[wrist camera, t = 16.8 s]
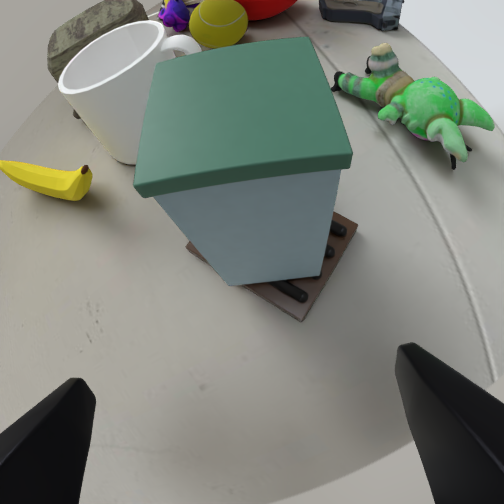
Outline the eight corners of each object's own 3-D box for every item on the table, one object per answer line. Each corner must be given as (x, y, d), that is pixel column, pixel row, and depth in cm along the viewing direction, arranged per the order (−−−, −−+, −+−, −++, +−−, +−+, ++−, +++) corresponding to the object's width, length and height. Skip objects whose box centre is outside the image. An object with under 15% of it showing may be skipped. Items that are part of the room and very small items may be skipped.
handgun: (334, -10, 37) (403, 5, 34) (312, 19, 34) (397, 38, 31) (333, -22, 35) (405, -7, 32) (311, 5, 32) (400, 23, 28)
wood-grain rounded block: (178, 74, 32) (141, 16, 41) (154, 15, 24) (124, -22, 33) (74, 133, 32) (70, 55, 41) (35, 86, 23) (48, 21, 32)
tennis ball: (228, 65, 33) (246, 38, 35) (243, 23, 26) (261, 0, 29) (176, 48, 32) (199, 22, 34) (183, 5, 25) (208, -17, 27)
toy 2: (322, 111, 29) (446, 196, 22) (314, 49, 23) (470, 129, 15) (382, 76, 30) (491, 143, 23) (381, 23, 24) (511, 86, 17)
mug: (98, 171, 28) (40, 107, 19) (124, 102, 32) (85, 39, 22) (216, 158, 27) (179, 67, 17) (227, 85, 30) (205, 5, 20)
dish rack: (356, 229, 23) (360, 219, 21) (301, 322, 21) (302, 318, 19) (246, 173, 26) (243, 161, 24) (189, 251, 24) (181, 243, 22)
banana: (25, 170, 32) (-5, 144, 26) (129, 191, 27) (94, 152, 21) (14, 190, 31) (-17, 165, 25) (116, 219, 26) (76, 184, 20)
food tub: (323, 278, 20) (354, 153, 8) (225, 289, 21) (131, 187, 9) (308, 192, 22) (309, 35, 10) (221, 204, 23) (155, 62, 11)
